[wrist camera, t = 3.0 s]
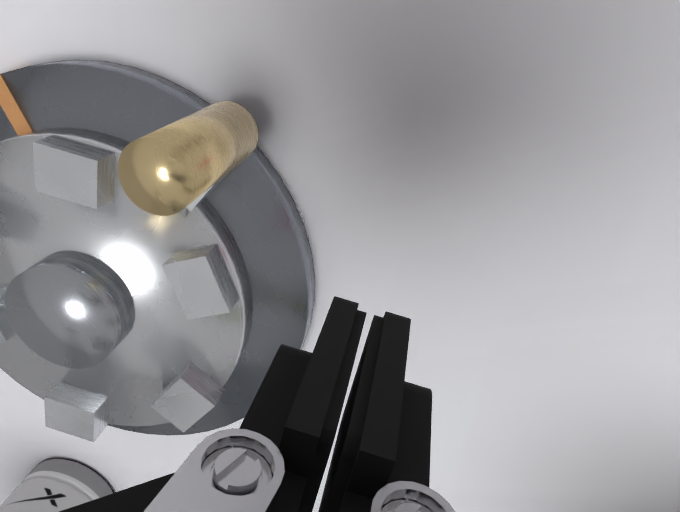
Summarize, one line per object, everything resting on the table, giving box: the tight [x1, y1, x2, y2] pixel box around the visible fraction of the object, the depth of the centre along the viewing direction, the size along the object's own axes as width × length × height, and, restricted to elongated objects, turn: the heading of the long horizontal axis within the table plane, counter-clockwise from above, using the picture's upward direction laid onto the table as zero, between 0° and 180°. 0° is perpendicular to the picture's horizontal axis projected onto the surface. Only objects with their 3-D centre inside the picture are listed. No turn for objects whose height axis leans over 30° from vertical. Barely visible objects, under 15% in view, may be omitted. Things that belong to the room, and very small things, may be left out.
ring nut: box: [0, 101, 258, 442], centre depth 22 cm, size 19×15×6 cm
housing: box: [0, 60, 315, 435], centre depth 27 cm, size 20×20×2 cm
